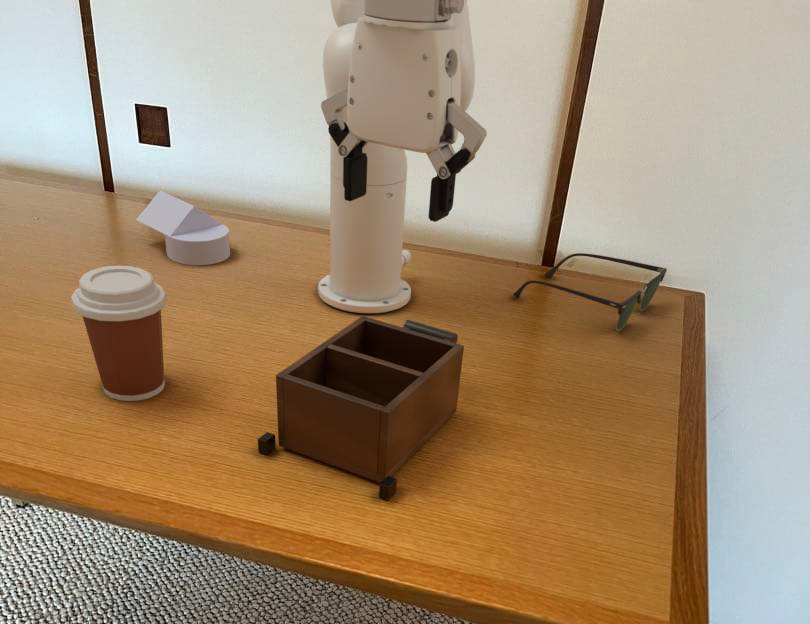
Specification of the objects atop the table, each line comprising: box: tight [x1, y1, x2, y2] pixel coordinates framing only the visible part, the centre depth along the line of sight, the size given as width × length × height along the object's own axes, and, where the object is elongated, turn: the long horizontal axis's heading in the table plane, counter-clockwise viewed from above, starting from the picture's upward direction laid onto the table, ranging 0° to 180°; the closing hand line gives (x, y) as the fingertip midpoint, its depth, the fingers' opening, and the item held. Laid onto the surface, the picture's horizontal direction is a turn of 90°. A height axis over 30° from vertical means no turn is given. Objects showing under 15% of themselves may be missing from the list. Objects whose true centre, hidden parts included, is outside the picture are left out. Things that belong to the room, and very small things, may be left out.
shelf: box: [275, 315, 465, 484], centre depth 83 cm, size 21×12×8 cm, turn 152°
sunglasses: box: [512, 252, 668, 331], centre depth 112 cm, size 16×17×5 cm
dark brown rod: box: [257, 431, 398, 502], centre depth 78 cm, size 2×15×2 cm, turn 62°
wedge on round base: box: [135, 190, 231, 266], centre depth 117 cm, size 9×7×13 cm
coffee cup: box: [70, 265, 167, 402], centre depth 84 cm, size 9×9×12 cm
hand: (396, 207), depth 81 cm, fingers open, 9 cm apart
